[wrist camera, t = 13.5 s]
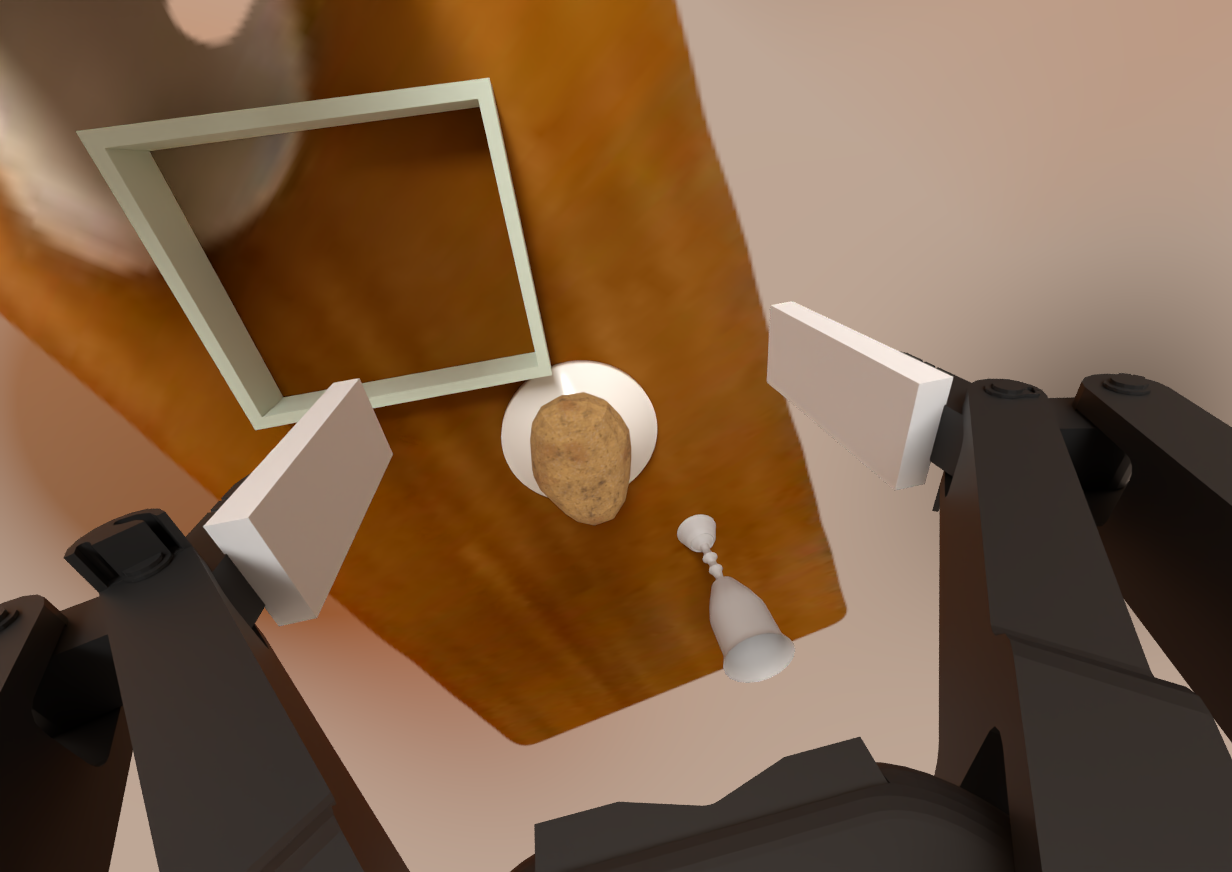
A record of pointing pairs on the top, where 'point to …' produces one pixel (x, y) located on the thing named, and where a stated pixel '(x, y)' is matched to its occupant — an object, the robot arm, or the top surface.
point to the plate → (572, 380)
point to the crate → (198, 285)
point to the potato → (581, 456)
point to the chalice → (738, 615)
